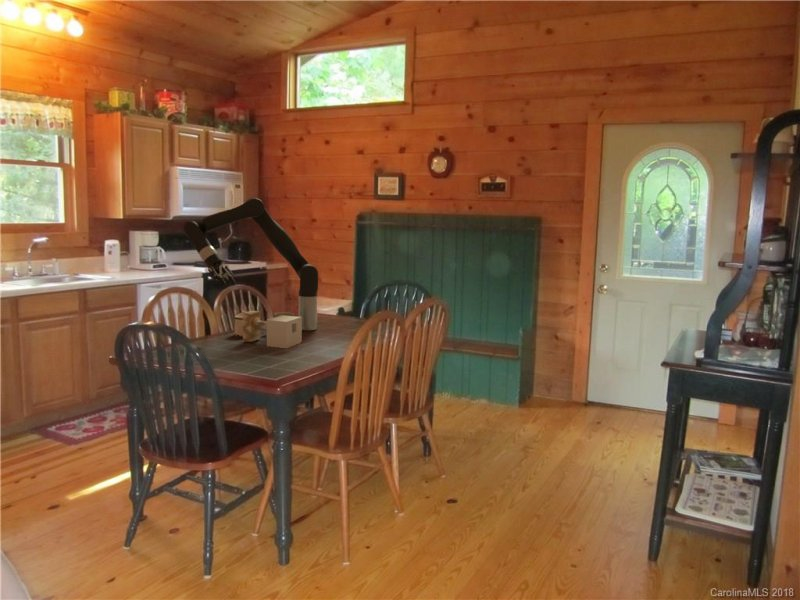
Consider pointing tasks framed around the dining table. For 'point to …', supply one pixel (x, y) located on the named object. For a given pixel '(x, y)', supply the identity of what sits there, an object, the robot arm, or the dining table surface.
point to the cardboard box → (284, 331)
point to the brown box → (252, 326)
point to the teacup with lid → (239, 323)
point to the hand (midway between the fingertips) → (229, 285)
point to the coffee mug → (282, 314)
